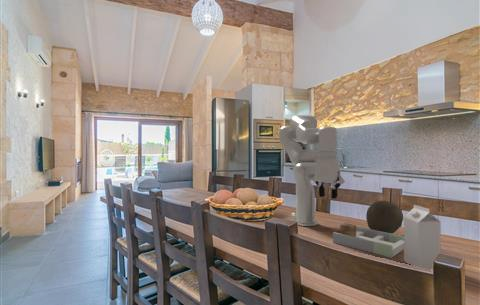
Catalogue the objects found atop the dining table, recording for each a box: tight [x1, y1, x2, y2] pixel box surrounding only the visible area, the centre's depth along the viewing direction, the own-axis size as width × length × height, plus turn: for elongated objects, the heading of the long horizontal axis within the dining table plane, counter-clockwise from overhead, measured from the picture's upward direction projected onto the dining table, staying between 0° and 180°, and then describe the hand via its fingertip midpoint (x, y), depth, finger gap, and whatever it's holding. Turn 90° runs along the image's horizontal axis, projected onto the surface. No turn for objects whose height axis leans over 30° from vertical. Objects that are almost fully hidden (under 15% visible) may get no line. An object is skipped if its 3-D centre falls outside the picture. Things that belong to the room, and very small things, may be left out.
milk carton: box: [403, 204, 442, 269], centre depth 86 cm, size 7×7×19 cm
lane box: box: [332, 226, 404, 259], centre depth 107 cm, size 22×16×4 cm
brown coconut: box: [365, 200, 404, 234], centre depth 119 cm, size 14×14×15 cm
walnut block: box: [339, 222, 357, 237], centre depth 110 cm, size 4×4×4 cm
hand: (327, 196), depth 117 cm, fingers open, 5 cm apart
